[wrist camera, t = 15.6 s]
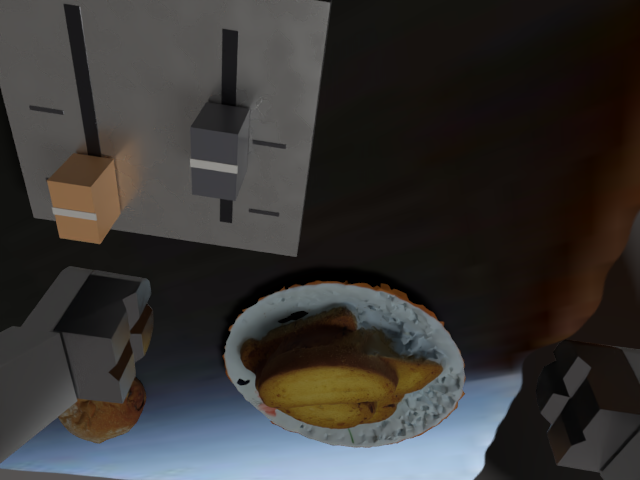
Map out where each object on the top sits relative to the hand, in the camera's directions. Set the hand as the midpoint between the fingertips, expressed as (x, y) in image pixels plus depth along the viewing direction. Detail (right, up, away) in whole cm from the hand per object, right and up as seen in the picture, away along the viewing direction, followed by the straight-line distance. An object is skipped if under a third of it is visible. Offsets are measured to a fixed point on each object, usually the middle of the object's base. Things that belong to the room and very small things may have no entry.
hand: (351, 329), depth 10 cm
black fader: (-7, +9, +26) cm, 29 cm away
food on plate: (+2, -11, +45) cm, 47 cm away
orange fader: (-18, +6, +30) cm, 35 cm away
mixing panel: (-12, +12, +29) cm, 33 cm away
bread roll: (-26, -16, +51) cm, 60 cm away
